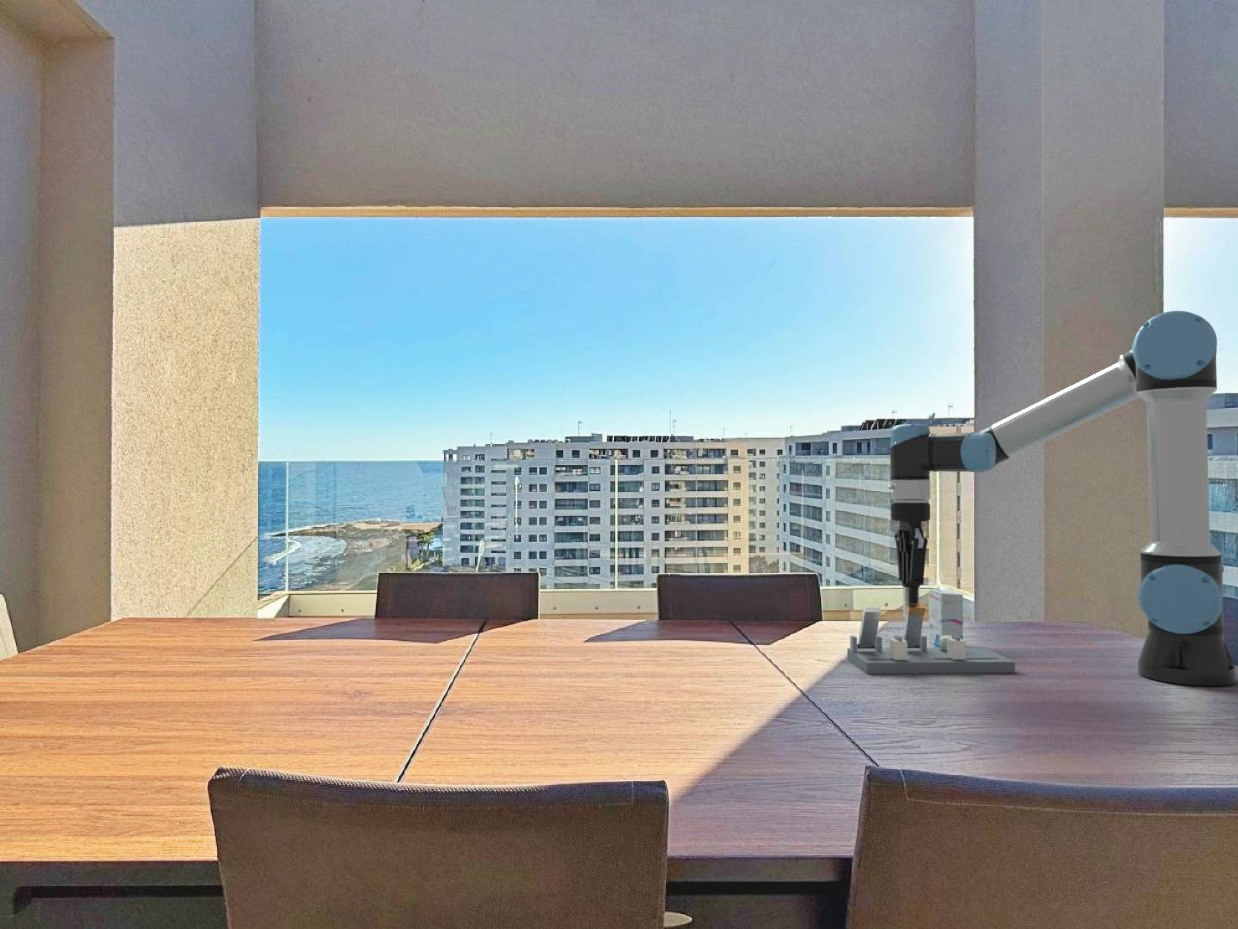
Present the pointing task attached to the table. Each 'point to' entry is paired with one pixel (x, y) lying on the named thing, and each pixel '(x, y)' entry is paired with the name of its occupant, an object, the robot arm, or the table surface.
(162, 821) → the table surface
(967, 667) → the panel
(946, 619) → the ink box
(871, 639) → the toggle
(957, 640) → the slider
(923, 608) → the toggle
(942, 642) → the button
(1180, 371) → the robot arm
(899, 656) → the slider
